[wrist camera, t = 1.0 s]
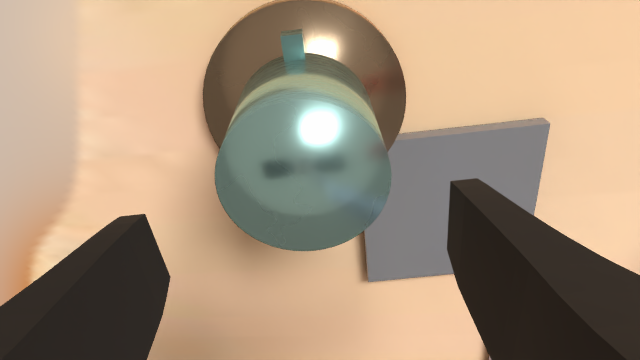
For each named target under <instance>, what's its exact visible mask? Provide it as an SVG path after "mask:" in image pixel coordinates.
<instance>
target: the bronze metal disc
mask: <svg viewBox="0 0 640 360" xmlns="http://www.w3.org/2000/svg"><path fill="white" fill-rule="evenodd" d="M296 29H302V30H303V37H304V45H305V53H316V54H320V55H325V56H327V57H330V58H333V59H335V60H337V61H339V62H341V63H342V64H344V65H345V66H346V67H348V68H349V69H350V70H351V71H352V72H353V73H354V74H355V75H356V76H357V77H358V78H359V79H360V81H361V82H362V84H363V86H364V87H365V89H366V91H367V94H368V96H369V99H370V102H371V105H372V108H373V111H374V114H375V117H376V120H377V123H378V126H379V129H380V132H381V135H382V138H383V141H384V144H385V147H386V150H387V152H388V151H389V149H390V148H391V146H392V145H393V143H394V142H395V139H396V137H397V135H398V133H399V131H400V128H401V125H402V122H403V118H404V113H405V106H406V89H405V81H404V76H403V72H402V69H401V66H400V64H399V61H398V58H397V56H396V55H395V53H394V51H393V49H392V47H391V46H390V44H389V43H388V41H387V40H386V38H385V37H384V36H383V34H382V33H381V32H380V30H379V29H378V28H377V27H376V26H375V25H374V24H373V23H372V22H371V21H369V20H368V19H367V18H365V17H364V16H363V15H362V14H360V13H359V12H357V11H355V10H353V9H352V8H350V7H348V6H346V5H343V4H341V3H338V2H335V1H332V0H275V1H272V2H270V3H267V4H264V5H262V6H260V7H258V8H256V9H254V10H252V11H251V12H249V13H248V14H246V15H245V16H244V17H242V18H241V19H240V20H239V21H238V22H236V23H235V24H234V25H233V26H232V27H231V28H230V29H229V31H228V32H227V33H226V35H225V36H224V37H223V39H222V40H221V41H220V43H219V44H218V46H217V48H216V49H215V51H214V53H213V55H212V57H211V59H210V62H209V64H208V67H207V70H206V75H205V79H204V87H203V105H204V111H205V116H206V121H207V123H208V126H209V129H210V132H211V134H212V136H213V138H214V140H215V142H216V143H217V145H218V146H219V148H221V145H222V143H223V140H224V137H225V135H226V132H227V130H228V127H229V124H230V122H231V119H232V117H233V114H234V111H235V109H236V106H237V103H238V101H239V98H240V96H241V93H242V91H243V89H244V87H245V85H246V83H247V82H248V80H249V79H250V78H251V76H252V75H253V74H254V73H255V72H256V71H257V70H258V69H259V68H261V67H262V66H263V65H265V64H266V63H268V62H269V61H271V60H273V59H276V58H278V57H281V56H283V51H282V45H281V38H280V35H281V31H288V30H296Z"/></svg>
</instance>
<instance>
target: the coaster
mask: <svg viewBox="0 0 640 360" xmlns="http://www.w3.org/2000/svg"><path fill="white" fill-rule="evenodd" d="M549 128H550V123H549V122H548V121H547V120H545V119H544V118H537V119H528V120H519V121H510V122H502V123H493V124H484V125H475V126H466V127H457V128H448V129H439V130H430V131H421V132H412V133H403V134H398V135H397V137H396V139H395V142H394V143H393V145H392V146H391V148H390V149H389V151H388V152H387V153H388V156H389V160H390V164H391V173H392V177H391V187H390V192H389V196H388V198H387V201H386V204H385V205H384V207H383V209H382V211H381V213H380V214H379V215H378V217H377V218H376V219H375V221H374V222H373V223H372V224H371V225H370V226H369V227H368V228H367V229H365V230H364V238H365V252H366V265H367V276H368V282H374V281H384V280H395V279H405V278H415V277H425V276H435V275H445V274H454V272H453V268H452V265H451V262H450V258H449V255H448V251H447V236H448V218H449V199H450V181H456V180H465V179H474V178H478V179H479V180H481V181H483V182H484V183H486V184H487V185H489V186H490V187H492V188H493V189H495V190H496V191H498V192H499V193H501V194H502V195H504V196H505V197H506V198H508V199H509V200H511V201H512V202H514V203H515V204H517V205H518V206H520V207H521V208H523V209H524V210H526V211H527V212H529V213H530V214H532V215H533V216H534V211H535V206H536V200H537V195H538V189H539V183H540V178H541V172H542V167H543V161H544V156H545V150H546V144H547V139H548V133H549Z"/></svg>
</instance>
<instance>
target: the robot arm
mask: <svg viewBox="0 0 640 360" xmlns="http://www.w3.org/2000/svg"><path fill="white" fill-rule="evenodd" d="M447 251H448V255H449V258H450V262H451V265H452V268H453V272H454V275H455V278H456V281H457V284H458V287H459V290H460V292H461V294H462V296H463V299H464V301H465V303H466V305H467V307H468V310H469V312H470V314H471V316H472V319H473V321H474V323H475V325H476V327H477V330H478V332H479V334H480V336H481V338H482V340H483V343H484V345H485V347H486V349H487V351H488V354H489V360H640V275H638V274H636V273H634V272H632V271H630V270H628V269H626V268H624V267H622V266H620V265H618V264H615V263H614V262H612V261H610V260H608V259H606V258H604V257H602V256H600V255H598V254H597V253H595V252H593V251H591V250H590V249H588V248H586V247H584V246H583V245H581V244H579V243H577V242H576V241H574V240H572V239H570V238H569V237H567V236H565V235H564V234H562V233H560V232H559V231H557V230H555V229H554V228H552V227H551V226H549V225H547V224H546V223H544V222H543V221H541V220H539V219H538V218H536V217H535V216H533V215H532V214H530V213H529V212H527V211H526V210H524V209H523V208H521V207H520V206H518V205H517V204H515V203H514V202H512V201H511V200H509V199H508V198H506V197H505V196H504V195H502V194H501V193H499V192H498V191H496V190H495V189H493V188H492V187H490V186H489V185H487V184H486V183H484V182H483V181H481V180H479V179H478V178H474V179H465V180H456V181H450V199H449V218H448V236H447ZM169 282H170V275H169V273H168V270H167V268H166V265H165V263H164V260H163V258H162V255H161V253H160V250H159V248H158V245H157V243H156V240H155V238H154V235H153V233H152V230H151V228H150V225H149V223H148V220H147V218H146V215H145V214H140V215H130V216H121V217H119V218H117V219H116V220H114V221H113V222H111V223H110V224H108V225H107V226H106V227H104V228H103V229H101V230H100V231H99V232H98V233H96V234H95V235H94V236H92V237H91V238H90V239H88V240H87V241H86V242H85V243H83V244H82V245H81V246H80V247H78V248H77V249H76V250H75V251H73V252H72V253H71V254H69V255H68V256H67V257H66V258H64V259H63V260H62V261H60V262H59V263H58V264H57V265H55V266H54V267H53V268H52V269H50V270H49V271H48V272H46V273H45V274H44V275H43V276H41V277H40V278H38V279H37V280H36V281H34V282H33V283H32V284H30V285H29V286H28V287H26V288H25V289H24V290H22V291H21V292H19V293H18V294H17V295H15V296H14V297H13V298H11V299H10V300H9V301H7V302H6V303H5V304H3V305H2V306H0V360H147V357H148V354H149V352H150V349H151V346H152V343H153V341H154V338H155V335H156V332H157V329H158V327H159V324H160V321H161V318H162V315H163V310H164V306H165V302H166V297H167V292H168V287H169Z"/></svg>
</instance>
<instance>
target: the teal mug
mask: <svg viewBox="0 0 640 360" xmlns="http://www.w3.org/2000/svg"><path fill="white" fill-rule="evenodd" d="M280 38H281V45H282V51H283V56H281V57H278V58H276V59H273V60H271V61H269V62H268V63H266V64H265V65H263V66H262V67H261V68H259V69H258V70H257V71H256V72H255V73H254V74H253V75H252V76H251V78H250V79H249V80H248V82H247V83H246V85H245V87H244V89H243V91H242V93H241V96H240V98H239V101H238V103H237V106H236V109H235V111H234V114H233V117H232V119H231V122H230V124H229V127H228V130H227V132H226V135H225V137H224V140H223V143H222V145H221V148H220V151H219V153H218V157H217V161H216V166H215V185H216V189H217V194H218V196H219V199H220V202H221V204H222V206H223V208H224V209H225V211H226V213H227V214H228V215H229V217H230V218H231V219H232V220H233V221H234V223H235V224H236V225H237V226H238V227H239V228H241V229H242V230H243V231H244V232H246V233H247V234H249V235H250V236H252V237H253V238H255V239H257V240H259V241H261V242H263V243H265V244H268V245H271V246H273V247H277V248H281V249H286V250H293V251H315V250H321V249H326V248H330V247H334V246H337V245H340V244H342V243H345V242H347V241H349V240H351V239H353V238H354V237H356V236H357V235H359V234H360V233H362V232H363V231H364V230H365V229H367V228H368V227H369V226H370V225H371V224H372V223H373V222H374V221H375V219H376V218H377V217H378V215H379V214H380V213H381V211H382V209H383V207H384V205H385V204H386V201H387V198H388V196H389V192H390V187H391V177H392V173H391V164H390V160H389V156H388V153H387V150H386V147H385V144H384V141H383V138H382V135H381V132H380V129H379V126H378V123H377V120H376V117H375V114H374V111H373V108H372V105H371V102H370V99H369V96H368V94H367V91H366V89H365V87H364V86H363V84H362V82H361V81H360V79H359V78H358V77H357V76H356V75H355V74H354V73H353V72H352V71H351V70H350V69H349V68H348V67H346V66H345V65H344V64H342V63H341V62H339V61H337V60H335V59H333V58H330V57H327V56H325V55H320V54H316V53H305V45H304V37H303V30H302V29H296V30H288V31H281V35H280Z"/></svg>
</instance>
